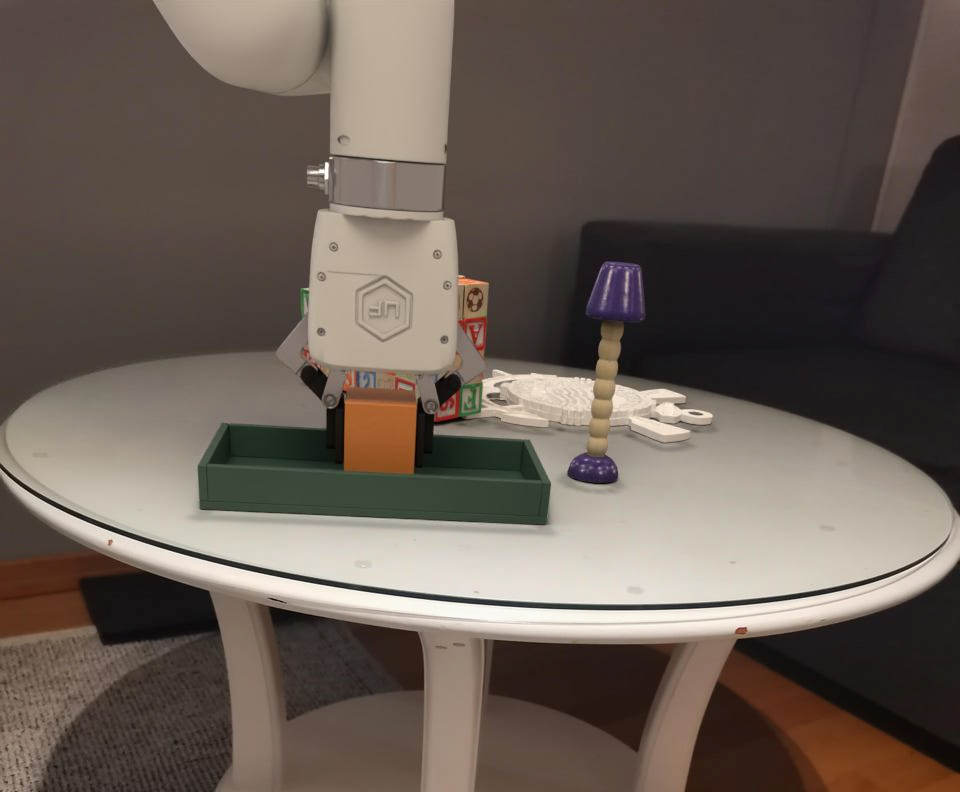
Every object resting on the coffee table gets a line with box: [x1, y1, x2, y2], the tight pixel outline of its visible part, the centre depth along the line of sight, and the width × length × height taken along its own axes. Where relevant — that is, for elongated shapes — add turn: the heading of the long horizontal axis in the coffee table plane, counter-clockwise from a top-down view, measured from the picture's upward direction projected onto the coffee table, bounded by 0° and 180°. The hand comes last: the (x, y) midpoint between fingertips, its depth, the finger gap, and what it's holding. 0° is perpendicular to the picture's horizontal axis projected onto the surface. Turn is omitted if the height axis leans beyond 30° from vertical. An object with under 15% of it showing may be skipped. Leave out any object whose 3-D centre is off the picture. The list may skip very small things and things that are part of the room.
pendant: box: [460, 369, 714, 444], centre depth 103 cm, size 21×28×1 cm
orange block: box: [344, 387, 417, 474], centre depth 71 cm, size 5×5×5 cm
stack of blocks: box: [300, 274, 490, 423], centre depth 97 cm, size 21×6×12 cm, turn 44°
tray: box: [197, 422, 552, 525], centre depth 72 cm, size 24×11×3 cm, turn 95°
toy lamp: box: [567, 261, 646, 484], centre depth 78 cm, size 5×5×17 cm
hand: (379, 458), depth 72 cm, fingers closed on orange block, 5 cm apart
